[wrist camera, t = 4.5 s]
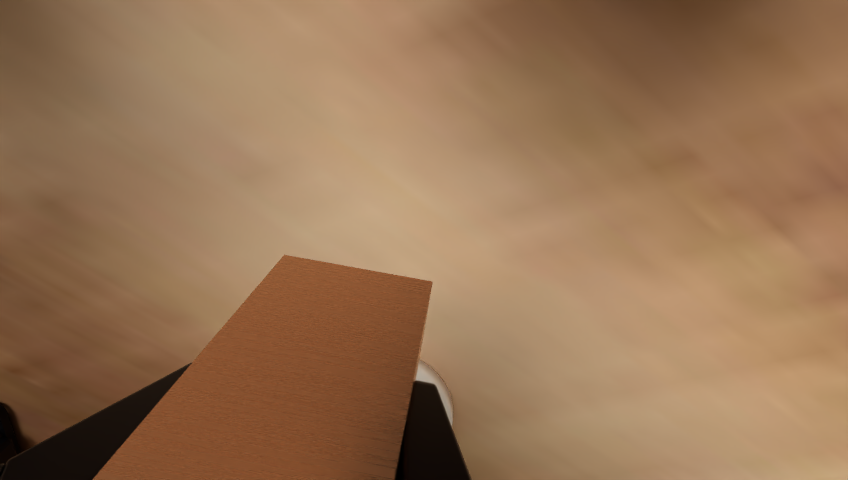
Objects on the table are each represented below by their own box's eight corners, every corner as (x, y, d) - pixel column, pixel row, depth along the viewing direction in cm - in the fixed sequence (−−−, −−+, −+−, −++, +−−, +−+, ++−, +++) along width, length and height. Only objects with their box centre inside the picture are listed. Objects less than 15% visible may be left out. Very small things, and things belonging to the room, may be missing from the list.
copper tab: (283, 370, 11) (-9, 881, 4) (284, 254, 9) (-132, 740, 3) (412, 395, 10) (306, 959, 4) (432, 281, 9) (321, 850, 3)
